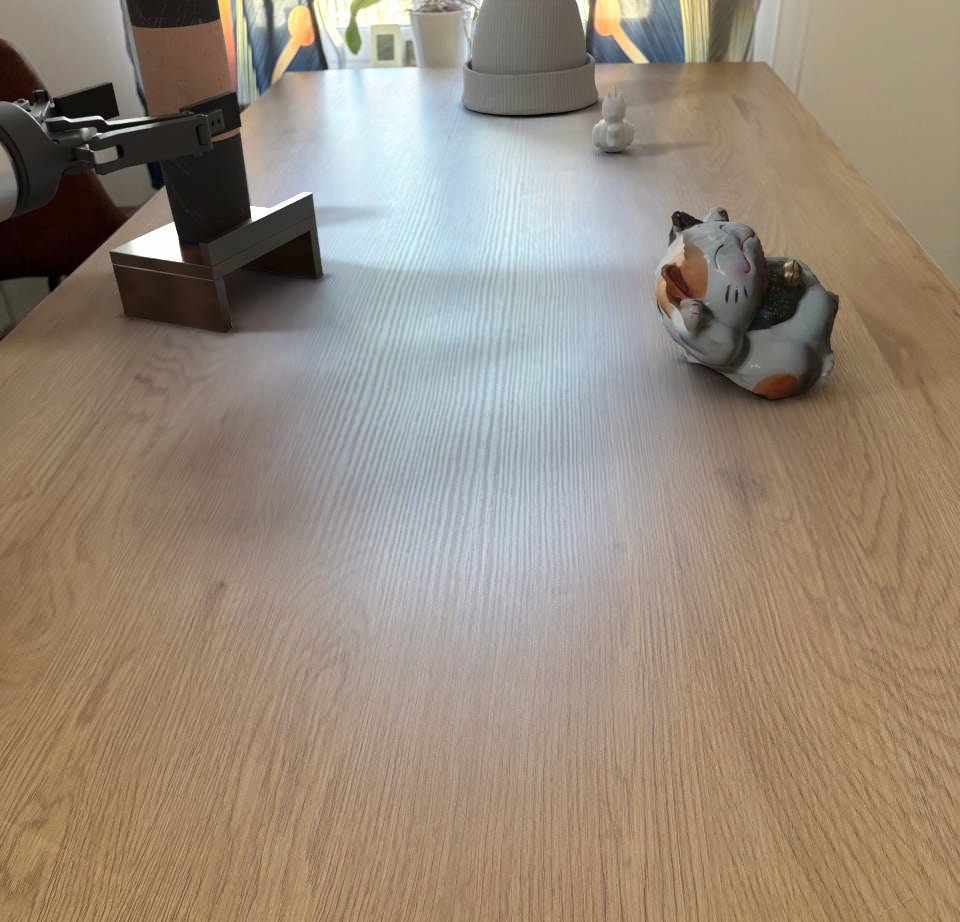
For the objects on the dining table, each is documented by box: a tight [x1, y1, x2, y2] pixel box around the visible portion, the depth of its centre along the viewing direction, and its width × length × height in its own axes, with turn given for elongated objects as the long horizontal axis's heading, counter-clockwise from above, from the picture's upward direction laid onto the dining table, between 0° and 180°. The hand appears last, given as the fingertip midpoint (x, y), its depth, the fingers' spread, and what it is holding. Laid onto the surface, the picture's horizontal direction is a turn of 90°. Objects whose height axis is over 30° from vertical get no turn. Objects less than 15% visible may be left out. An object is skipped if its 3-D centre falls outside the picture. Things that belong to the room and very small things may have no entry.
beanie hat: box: [460, 0, 599, 116], centre depth 163 cm, size 21×21×20 cm
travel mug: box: [125, 0, 252, 244], centre depth 96 cm, size 8×8×20 cm
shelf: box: [108, 191, 324, 334], centre depth 103 cm, size 12×16×8 cm
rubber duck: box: [591, 83, 635, 153], centre depth 139 cm, size 5×7×8 cm
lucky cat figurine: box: [653, 206, 840, 401], centre depth 84 cm, size 15×12×14 cm
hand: (172, 103), depth 93 cm, fingers open, 13 cm apart
